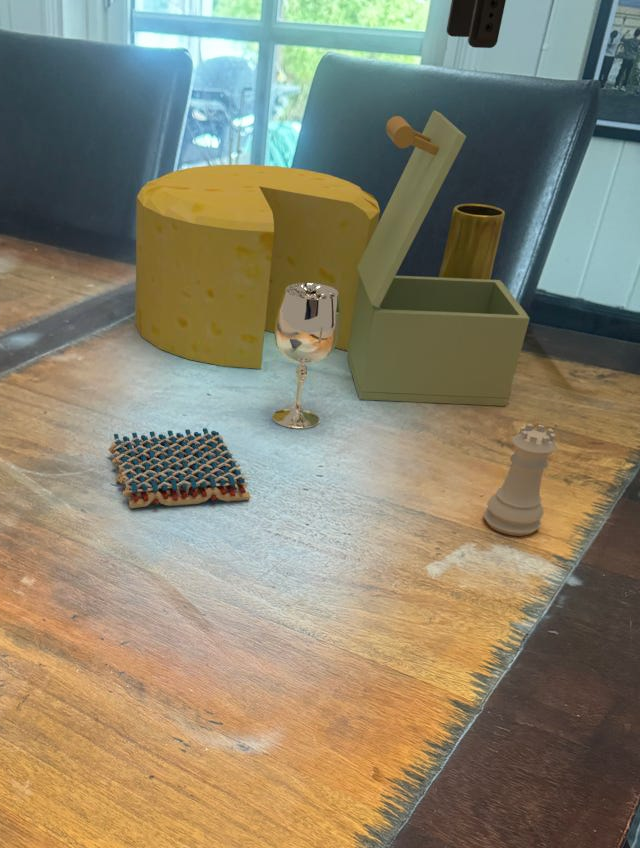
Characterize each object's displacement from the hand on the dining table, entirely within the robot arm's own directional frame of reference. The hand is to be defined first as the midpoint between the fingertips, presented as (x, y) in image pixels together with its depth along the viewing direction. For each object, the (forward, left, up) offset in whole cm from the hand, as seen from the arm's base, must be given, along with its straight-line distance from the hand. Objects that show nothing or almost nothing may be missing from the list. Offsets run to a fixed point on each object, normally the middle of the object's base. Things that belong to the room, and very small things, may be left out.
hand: (469, 41), depth 80 cm
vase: (-7, -11, -30) cm, 33 cm away
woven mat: (+23, +24, -30) cm, 45 cm away
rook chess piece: (-4, +29, -30) cm, 42 cm away
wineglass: (+12, +11, -30) cm, 34 cm away
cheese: (+16, -14, -30) cm, 37 cm away
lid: (+2, 0, -14) cm, 14 cm away
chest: (-2, 0, -30) cm, 30 cm away
